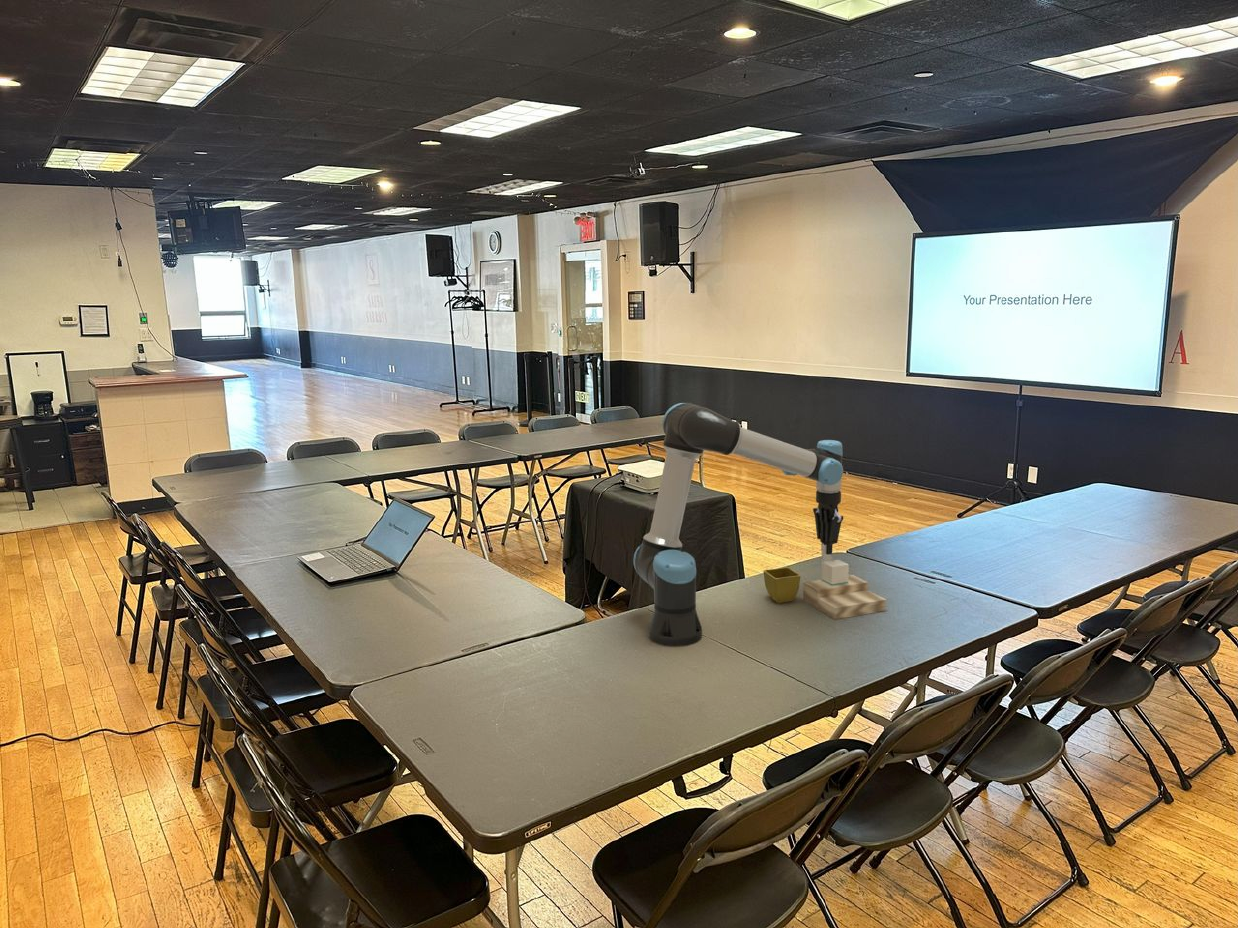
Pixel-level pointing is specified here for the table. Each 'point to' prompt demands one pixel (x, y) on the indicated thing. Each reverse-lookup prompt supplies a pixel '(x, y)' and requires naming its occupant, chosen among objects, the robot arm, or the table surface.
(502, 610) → the table surface
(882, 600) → the beech steps
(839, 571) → the cream block
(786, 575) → the flower pot
